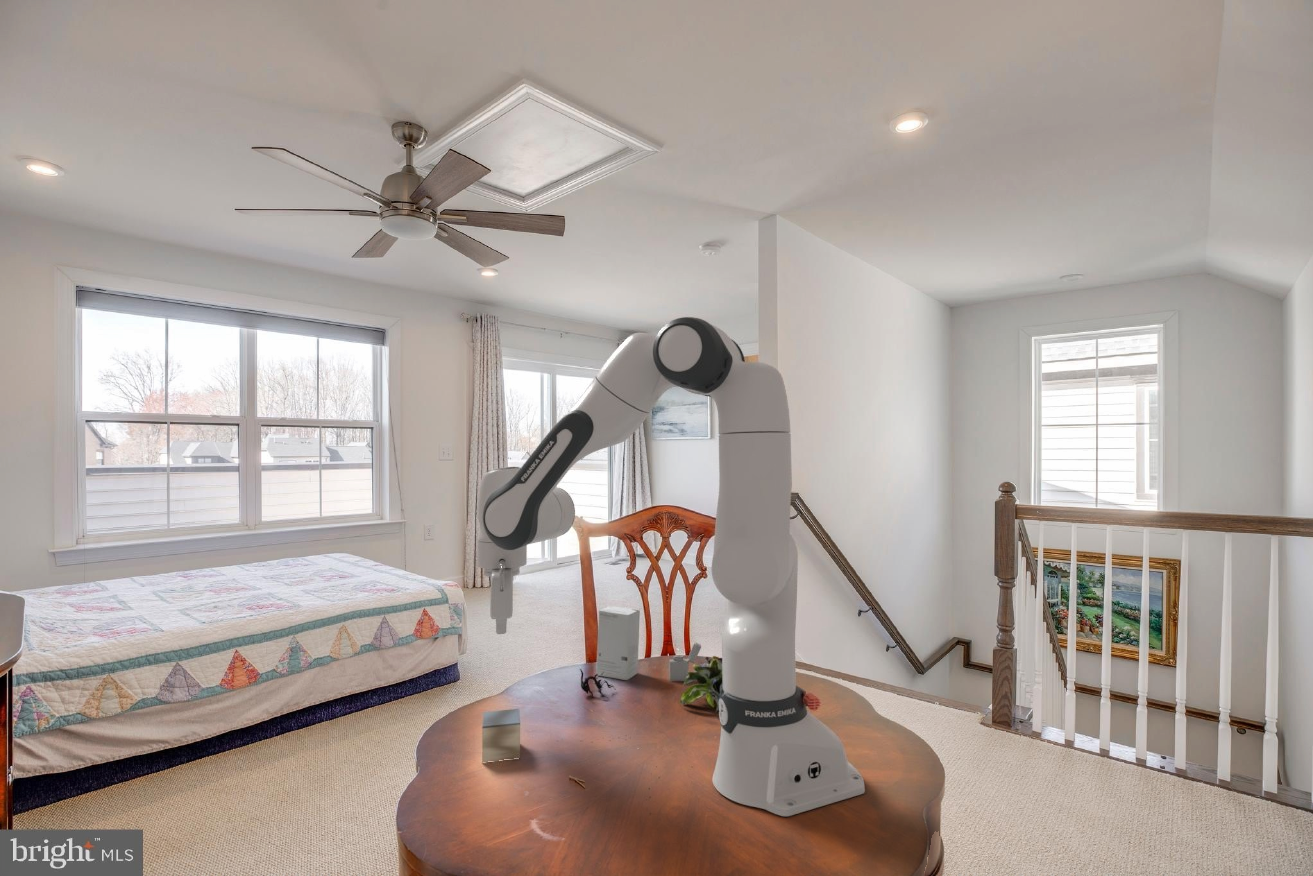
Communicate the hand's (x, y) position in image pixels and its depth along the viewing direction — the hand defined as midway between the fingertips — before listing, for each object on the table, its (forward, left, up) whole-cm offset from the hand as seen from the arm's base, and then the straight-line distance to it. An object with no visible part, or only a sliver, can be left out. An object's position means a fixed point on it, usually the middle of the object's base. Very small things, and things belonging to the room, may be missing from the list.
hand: (501, 632), depth 113 cm
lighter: (-40, -17, -18) cm, 47 cm away
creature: (-20, -14, -18) cm, 30 cm away
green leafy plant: (-41, -1, -18) cm, 45 cm away
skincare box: (-26, -24, -18) cm, 40 cm away
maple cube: (0, +9, -18) cm, 20 cm away
